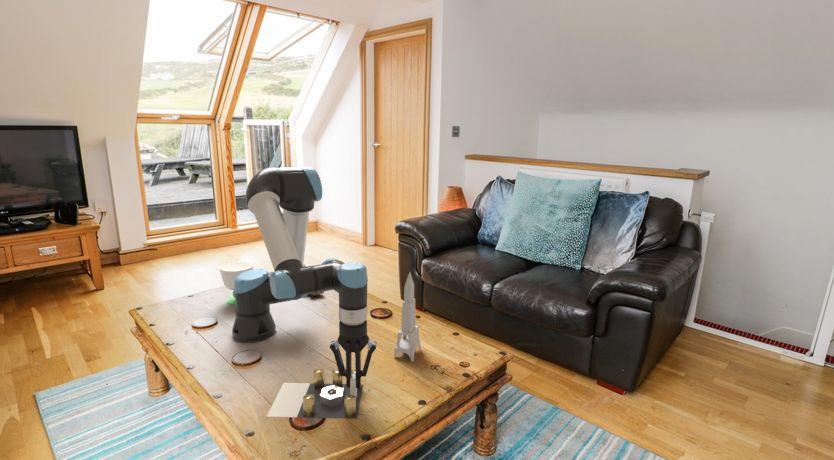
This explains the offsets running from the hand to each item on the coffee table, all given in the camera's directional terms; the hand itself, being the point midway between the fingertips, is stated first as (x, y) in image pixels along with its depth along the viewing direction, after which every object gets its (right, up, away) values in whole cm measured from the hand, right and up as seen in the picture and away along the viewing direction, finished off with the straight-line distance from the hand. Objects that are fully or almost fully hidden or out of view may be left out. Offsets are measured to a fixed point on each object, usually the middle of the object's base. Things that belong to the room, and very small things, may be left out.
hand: (353, 396), depth 128 cm
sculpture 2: (+15, +4, +28) cm, 32 cm away
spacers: (-6, -1, 0) cm, 6 cm away
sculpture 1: (-34, +18, +79) cm, 88 cm away
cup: (-59, +16, +69) cm, 92 cm away
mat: (-10, -1, 0) cm, 10 cm away
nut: (-6, -1, 0) cm, 6 cm away
